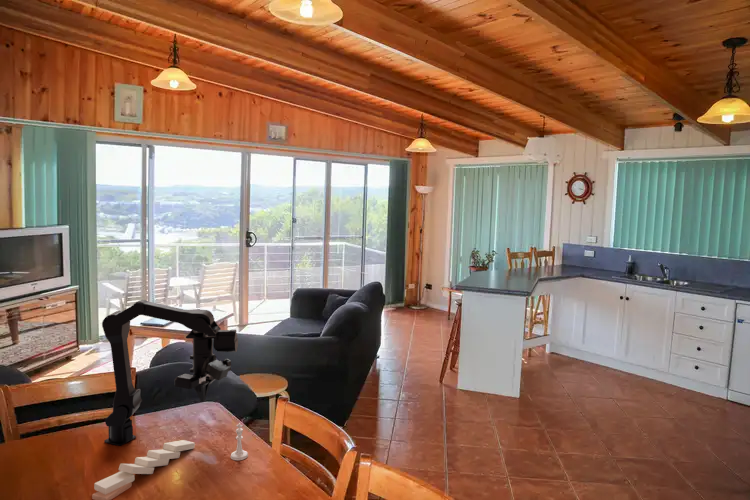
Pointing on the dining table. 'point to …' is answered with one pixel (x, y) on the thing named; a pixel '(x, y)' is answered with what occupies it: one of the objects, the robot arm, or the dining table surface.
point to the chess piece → (239, 445)
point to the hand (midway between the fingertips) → (202, 401)
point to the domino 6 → (178, 445)
